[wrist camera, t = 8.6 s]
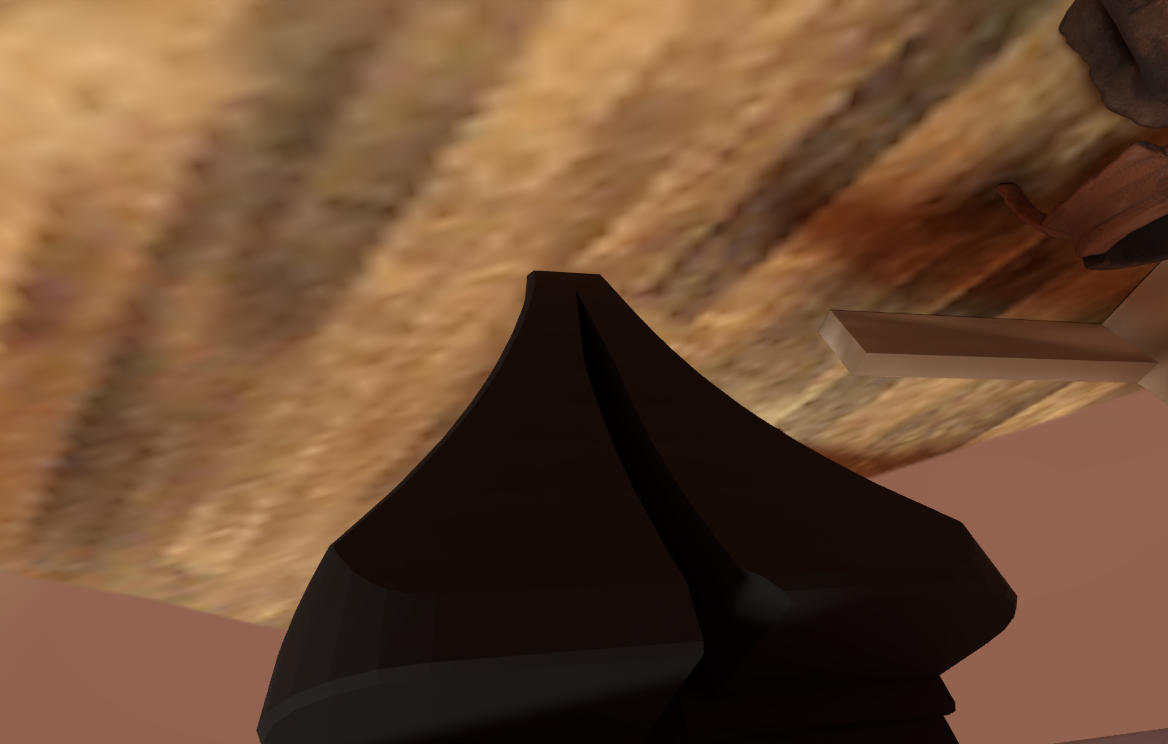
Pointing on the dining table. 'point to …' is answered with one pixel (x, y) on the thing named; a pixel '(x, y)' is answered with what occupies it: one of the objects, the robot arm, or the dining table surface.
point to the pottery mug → (1142, 171)
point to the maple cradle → (1013, 344)
